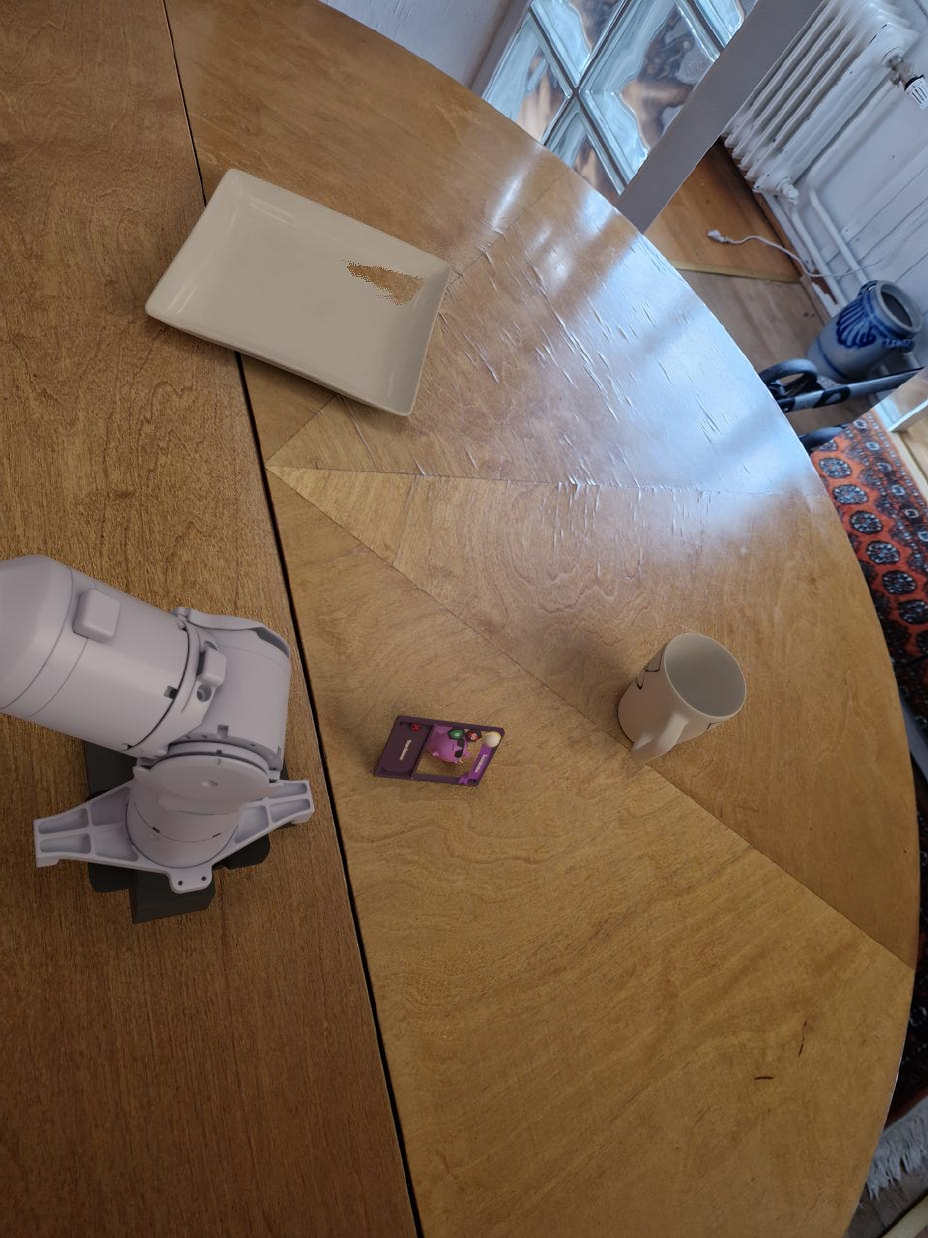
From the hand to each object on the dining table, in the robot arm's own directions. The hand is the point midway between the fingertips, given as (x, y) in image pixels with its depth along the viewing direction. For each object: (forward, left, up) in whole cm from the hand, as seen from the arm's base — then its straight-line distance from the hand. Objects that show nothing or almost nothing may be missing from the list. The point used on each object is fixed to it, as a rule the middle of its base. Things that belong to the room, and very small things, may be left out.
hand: (165, 863), depth 56 cm
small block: (0, 0, -1) cm, 1 cm away
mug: (+44, +6, -8) cm, 46 cm away
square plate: (+23, +59, -8) cm, 64 cm away
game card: (+22, +7, -8) cm, 25 cm away
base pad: (+3, +9, -7) cm, 12 cm away
